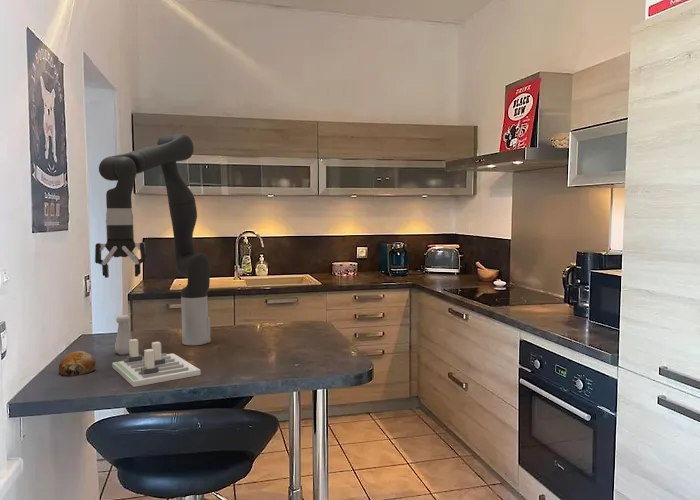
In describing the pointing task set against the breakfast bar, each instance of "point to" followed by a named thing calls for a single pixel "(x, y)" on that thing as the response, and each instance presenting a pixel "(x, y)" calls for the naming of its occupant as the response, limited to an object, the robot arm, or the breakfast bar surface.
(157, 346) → the breaker
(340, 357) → the breakfast bar surface
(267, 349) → the breakfast bar surface
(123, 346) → the salt shaker
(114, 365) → the panel
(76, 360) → the bread roll
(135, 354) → the breaker
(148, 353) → the breaker
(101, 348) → the breakfast bar surface
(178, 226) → the robot arm
